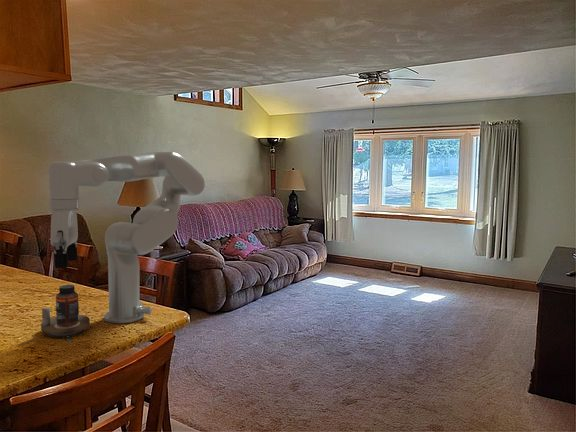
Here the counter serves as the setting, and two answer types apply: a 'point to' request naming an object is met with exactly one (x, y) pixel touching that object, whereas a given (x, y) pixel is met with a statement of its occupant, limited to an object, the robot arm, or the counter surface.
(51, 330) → the turntable
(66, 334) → the turntable base
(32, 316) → the counter surface
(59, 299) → the supplement bottle
